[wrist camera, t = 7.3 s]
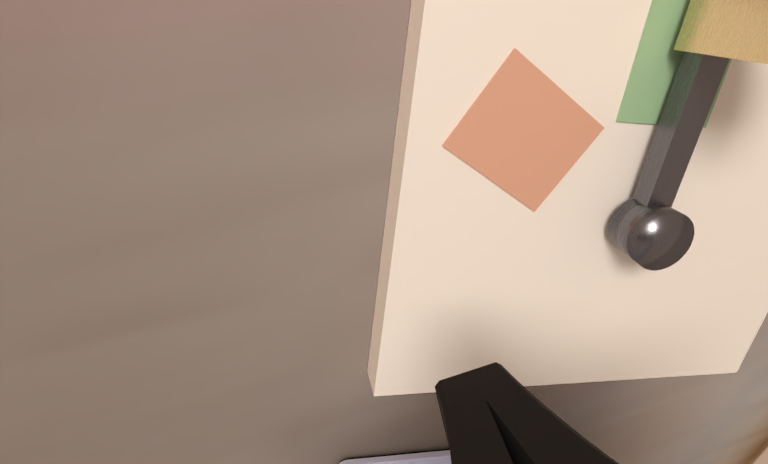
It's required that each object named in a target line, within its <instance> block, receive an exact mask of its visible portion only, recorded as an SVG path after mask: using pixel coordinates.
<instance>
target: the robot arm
mask: <svg viewBox="0 0 768 464" xmlns="http://www.w3.org/2000/svg"><path fill="white" fill-rule="evenodd" d="M435 390H436V394H437V399H438V403H439V407H440V411H441V415H442V419H443V423H444V427H445V431H446V436H447V440H448V444H449V447H450V450H445V451H434V452H423V453H413V454H402V455H391V456H381V457H370V458H360V459H349V460H344V461H342V462H340V463H339V464H618V463H617V462H616V461H614V460H613V459H611V458H610V457H609V456H607V455H606V454H605V453H603V452H602V451H601V450H599V449H598V448H597V447H595V446H594V445H593V444H592V443H590V442H589V441H588V440H586V439H585V438H584V437H583V436H581V435H580V434H579V433H578V432H576V431H575V430H574V429H573V428H571V427H570V426H569V425H568V424H567V423H565V422H564V421H563V420H562V419H560V418H559V417H558V416H557V415H556V414H554V413H553V412H552V411H551V410H550V409H548V408H547V407H546V406H545V405H544V404H543V403H542V402H540V401H539V400H538V399H537V398H536V397H535V396H534V395H533V394H531V393H530V392H529V391H528V390H527V389H526V388H525V387H524V386H523V385H522V384H521V383H519V382H518V381H517V380H516V379H515V378H514V377H513V376H512V375H511V374H510V373H509V372H508V371H507V370H506V369H505V368H504V367H503V366H502V365H501V364H499V363H497V362H495V363H492V364H488V365H485V366H482V367H479V368H476V369H473V370H470V371H467V372H464V373H461V374H458V375H455V376H452V377H449V378H446V379H443V380H440V381H438V383H437V384H436V385H435Z"/></svg>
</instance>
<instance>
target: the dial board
mask: <svg viewBox="0 0 768 464" xmlns="http://www.w3.org/2000/svg"><path fill="white" fill-rule="evenodd" d="M690 1H691V0H412V1H411V9H410V18H409V26H408V35H407V43H406V51H405V60H404V68H403V77H402V85H401V93H400V102H399V110H398V118H397V127H396V135H395V144H394V152H393V160H392V169H391V177H390V186H389V194H388V202H387V211H386V219H385V228H384V236H383V244H382V253H381V261H380V270H379V278H378V286H377V295H376V303H375V312H374V320H373V328H372V337H371V345H370V353H369V362H368V370H367V371H368V375H369V379H370V383H371V387H372V391H373V395H374V396H385V395H400V394H416V393H431V392H436V390H435V385H436V384H437V383H438V381H440V380H443V379H446V378H449V377H452V376H455V375H458V374H461V373H464V372H467V371H470V370H473V369H476V368H479V367H482V366H485V365H488V364H492V363H495V362H497V363H499V364H501V365H502V366H503V367H504V368H505V369H506V370H507V371H508V372H509V373H510V374H511V375H512V376H513V377H514V378H515V379H516V380H517V381H518V382H519V383H521V384H522V385H523V386H538V385H553V384H568V383H583V382H599V381H614V380H629V379H644V378H659V377H675V376H690V375H705V374H720V373H736V372H737V371H738V369H739V367H740V365H741V363H742V361H743V359H744V357H745V355H746V353H747V351H748V349H749V347H750V345H751V344H752V342H753V340H754V338H755V336H756V334H757V332H758V330H759V328H760V326H761V324H762V322H763V320H764V318H765V316H766V314H767V312H768V64H764V63H757V62H751V61H744V60H738V59H731V58H730V60H729V62H728V65H727V67H726V70H725V72H724V75H723V77H722V80H721V83H720V85H719V88H718V90H717V93H716V95H715V98H714V100H713V103H712V105H711V108H710V111H709V113H708V116H707V118H706V121H705V123H704V126H703V128H702V131H701V133H700V136H699V138H698V141H697V144H696V146H695V149H694V151H693V154H692V156H691V159H690V161H689V164H688V166H687V169H686V172H685V174H684V177H683V179H682V182H681V184H680V187H679V189H678V192H677V194H676V197H675V199H674V202H673V205H672V207H671V208H673V209H675V210H677V211H679V212H681V213H682V214H684V215H686V216H687V217H689V218H690V219H691V221H692V222H693V225H694V238H693V241H692V244H691V246H690V248H689V249H688V251H687V252H686V254H685V255H684V256H683V257H682V258H681V259H680V260H679V261H678V262H676V263H675V264H673V265H672V266H670V267H668V268H665V269H662V270H656V271H653V270H647V269H645V268H643V267H642V266H640V265H639V264H638V263H636V262H635V261H634V260H632V259H631V258H630V257H628V256H627V255H626V254H624V253H623V252H622V251H620V250H619V249H618V248H616V247H615V246H614V245H613V244H612V243H611V242H610V240H609V237H608V225H609V222H610V219H611V217H612V215H613V214H614V212H615V211H616V210H617V209H618V208H619V207H620V206H621V205H622V204H623V203H624V202H626V201H627V200H629V199H631V198H632V197H633V194H634V192H635V189H636V186H637V183H638V180H639V178H640V175H641V172H642V169H643V166H644V164H645V161H646V158H647V155H648V152H649V149H650V147H651V144H652V141H653V138H654V135H655V133H656V130H657V127H658V124H659V121H660V118H661V116H662V113H663V110H664V107H665V104H666V102H667V99H668V96H669V93H670V90H671V88H672V85H673V82H674V79H675V76H676V73H677V71H678V68H679V65H680V62H681V59H682V57H683V54H684V51H679V50H674V47H675V44H676V41H677V38H678V35H679V32H680V30H681V27H682V24H683V21H684V18H685V15H686V12H687V9H688V6H689V4H690Z"/></svg>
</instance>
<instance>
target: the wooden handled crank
mask: <svg viewBox="0 0 768 464" xmlns="http://www.w3.org/2000/svg"><path fill="white" fill-rule="evenodd" d="M674 50H679V51H684V54H683V57H682V59H681V62H680V65H679V68H678V71H677V73H676V76H675V79H674V82H673V85H672V88H671V90H670V93H669V96H668V99H667V102H666V104H665V107H664V110H663V113H662V116H661V118H660V121H659V124H658V127H657V130H656V133H655V135H654V138H653V141H652V144H651V147H650V149H649V152H648V155H647V158H646V161H645V164H644V166H643V169H642V172H641V175H640V178H639V180H638V183H637V186H636V189H635V192H634V194H633V197H632V198H631V199H629V200H627V201H626V202H624V203H623V204H622V205H621V206H620V207H619V208H618V209H617V210H616V211H615V212H614V214H613V215H612V217H611V219H610V222H609V225H608V237H609V240H610V242H611V243H612V244H613V245H614V246H615V247H616V248H618V249H619V250H620V251H622V252H623V253H624V254H626V255H627V256H628V257H630V258H631V259H632V260H634V261H635V262H636V263H638V264H639V265H640V266H642V267H643V268H645V269H647V270H653V271H656V270H662V269H665V268H668V267H670V266H672V265H673V264H675V263H676V262H678V261H679V260H680V259H681V258H682V257H683V256H684V255H685V254H686V252H687V251H688V249H689V248H690V246H691V244H692V241H693V238H694V225H693V222H692V221H691V219H690V218H689V217H687V216H686V215H684V214H682V213H681V212H679V211H677V210H675V209H673V208H671V207H672V205H673V202H674V199H675V197H676V194H677V192H678V189H679V187H680V184H681V182H682V179H683V177H684V174H685V172H686V169H687V166H688V164H689V161H690V159H691V156H692V154H693V151H694V149H695V146H696V144H697V141H698V138H699V136H700V133H701V131H702V128H703V126H704V123H705V121H706V118H707V116H708V113H709V111H710V108H711V105H712V103H713V100H714V98H715V95H716V93H717V90H718V88H719V85H720V83H721V80H722V77H723V75H724V72H725V70H726V67H727V65H728V62H729V60H730V58H731V59H738V60H744V61H751V62H757V63H764V64H768V0H691V1H690V4H689V6H688V9H687V12H686V15H685V18H684V21H683V24H682V27H681V30H680V32H679V35H678V38H677V41H676V44H675V47H674Z"/></svg>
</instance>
